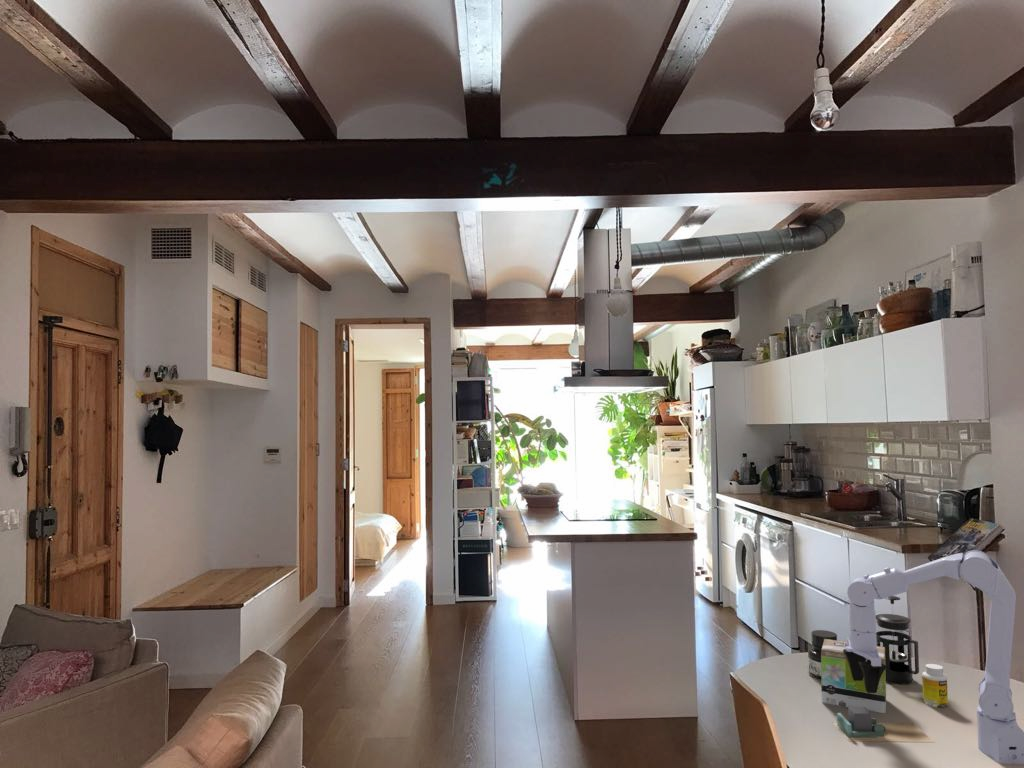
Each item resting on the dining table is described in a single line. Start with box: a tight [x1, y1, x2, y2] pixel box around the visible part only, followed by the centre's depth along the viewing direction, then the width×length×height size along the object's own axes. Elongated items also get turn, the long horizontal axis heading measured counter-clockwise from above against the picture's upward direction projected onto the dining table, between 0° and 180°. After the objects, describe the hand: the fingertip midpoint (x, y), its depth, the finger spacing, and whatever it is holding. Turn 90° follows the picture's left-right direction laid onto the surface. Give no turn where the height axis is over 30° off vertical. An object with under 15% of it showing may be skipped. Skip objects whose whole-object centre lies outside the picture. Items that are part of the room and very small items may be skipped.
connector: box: [847, 707, 886, 732], centre depth 170 cm, size 4×8×5 cm, turn 87°
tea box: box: [820, 639, 887, 714], centre depth 188 cm, size 15×10×15 cm, turn 62°
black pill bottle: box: [807, 629, 838, 680], centre depth 208 cm, size 10×9×12 cm
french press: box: [875, 595, 920, 685], centre depth 205 cm, size 12×9×23 cm
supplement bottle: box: [921, 663, 949, 709], centre depth 186 cm, size 6×6×10 cm
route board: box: [832, 712, 935, 743], centre depth 170 cm, size 10×19×4 cm, turn 87°
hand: (864, 686), depth 175 cm, fingers open, 7 cm apart
